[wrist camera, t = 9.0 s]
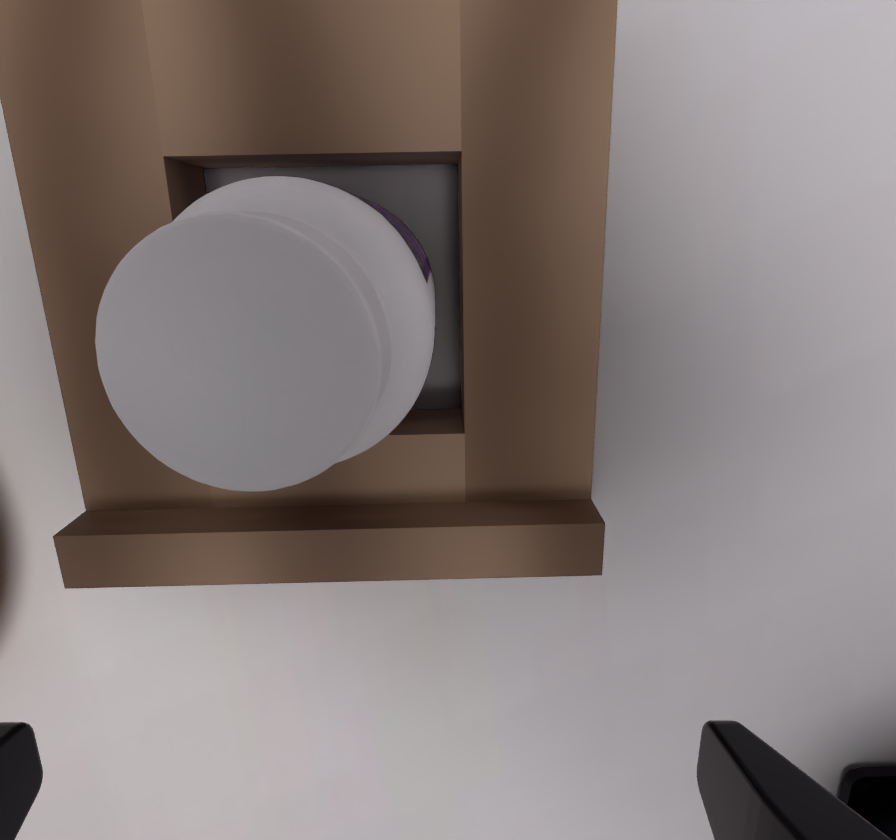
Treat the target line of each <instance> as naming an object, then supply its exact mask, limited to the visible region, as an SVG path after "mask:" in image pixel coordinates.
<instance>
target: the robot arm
mask: <svg viewBox="0 0 896 840" xmlns="http://www.w3.org/2000/svg"><path fill="white" fill-rule="evenodd" d="M42 778H43V769H42V764H41V760H40V756H39V752H38V747H37V743H36V739H35V734H34V731H33V728H32V727H31V726H30V725H29V724H27V723H24V722H1V723H0V840H15V838H16V836H17V834H18V832H19V830H20V828H21V826H22V824H23V822H24V820H25V818H26V816H27V814H28V812H29V810H30V808H31V806H32V804H33V802H34V800H35V798H36V796H37V794H38V792H39V790H40V787H41V783H42ZM697 781H698V786H699V790H700V794H701V797H702V800H703V803H704V807H705V810H706V813H707V816H708V820H709V823H710V826H711V829H712V832H713V836H714V839H715V840H896V767H863V768H855V769H852V770H850V771H849V772H848V773H847V774H846V775H845V777H844V781H843V786H842V790H841V795H840V800H839V799H838V798H837V797H835V796H834V795H833V794H832V793H830V792H829V791H828V790H826V789H825V788H824V787H822V786H821V785H820V784H819V783H817V782H816V781H815V780H813V779H812V778H811V777H809V776H808V775H807V774H806V773H804V772H803V771H802V770H800V769H799V768H798V767H796V766H795V765H794V764H793V763H791V762H790V761H789V760H787V759H786V758H785V757H783V756H782V755H781V754H780V753H778V752H777V751H776V750H774V749H773V748H772V747H770V746H769V745H768V744H767V743H765V742H764V741H763V740H761V739H760V738H759V737H757V736H756V735H755V734H754V733H752V732H751V731H750V730H748V729H747V728H746V727H744V726H743V725H742V724H740V723H738V722H736V721H708V722H706V723H705V724H704V726H703V729H702V734H701V742H700V749H699V757H698V764H697Z"/></svg>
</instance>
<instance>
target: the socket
mask: <svg viewBox="0 0 896 840" xmlns="http://www.w3.org/2000/svg"><path fill="white" fill-rule="evenodd" d="M617 1H618V0H0V99H1V104H2V108H3V113H4V118H5V123H6V128H7V133H8V137H9V142H10V147H11V152H12V157H13V161H14V166H15V171H16V176H17V181H18V186H19V190H20V195H21V200H22V205H23V210H24V214H25V219H26V224H27V229H28V234H29V239H30V243H31V248H32V253H33V258H34V263H35V267H36V272H37V277H38V282H39V287H40V292H41V296H42V301H43V306H44V311H45V316H46V320H47V325H48V330H49V335H50V340H51V345H52V349H53V354H54V359H55V364H56V369H57V374H58V378H59V383H60V388H61V393H62V398H63V402H64V407H65V412H66V417H67V422H68V427H69V431H70V436H71V441H72V446H73V451H74V455H75V460H76V465H77V470H78V475H79V480H80V484H81V489H82V494H83V499H84V504H85V508H86V511H85V512H84V513H83V514H81V515H80V516H79V517H77V518H76V519H75V520H74V521H72V522H71V523H70V524H68V525H67V526H66V527H65V528H63V529H62V530H61V531H59V532H58V533H57V534H55V535H54V536H53V538H54V543H55V547H56V552H57V556H58V560H59V565H60V569H61V574H62V578H63V582H64V587H65V588H105V587H145V586H186V585H227V584H267V583H308V582H349V581H389V580H430V579H470V578H511V577H552V576H592V575H602V565H603V549H604V533H605V522H604V521H603V519H602V517H601V515H600V514H599V512H598V510H597V509H596V507H595V505H594V503H593V502H592V500H591V488H592V469H593V451H594V432H595V413H596V394H597V376H598V357H599V338H600V319H601V301H602V282H603V263H604V244H605V226H606V207H607V188H608V169H609V151H610V132H611V113H612V94H613V76H614V57H615V38H616V19H617ZM404 164H458V190H459V268H460V347H461V409H420V410H410V411H409V412H408V413H407V415H406V416H405V417H404V419H403V420H402V421H401V422H400V423H399V424H398V426H397V427H396V428H394V429H393V430H392V431H391V432H390V433H389V434H388V435H387V436H386V437H385V438H383V439H382V440H381V441H379V442H378V443H377V444H375V445H374V446H372V447H371V448H369V449H368V450H366V451H364V452H362V453H360V454H358V455H356V456H353V457H351V458H349V459H346V460H344V461H341V462H338V463H335V464H333V465H332V466H331V467H329V468H328V469H326V470H325V471H323V472H322V473H320V474H319V475H317V476H315V477H313V478H310V479H308V480H306V481H304V482H301V483H299V484H296V485H292V486H288V487H284V488H280V489H276V490H269V491H235V490H227V489H222V488H218V487H214V486H211V485H207V484H204V483H200V482H198V481H195V480H193V479H190V478H188V477H186V476H184V475H182V474H180V473H178V472H176V471H175V470H173V469H171V468H169V467H168V466H166V465H165V464H164V463H162V462H161V461H159V460H158V459H156V458H155V457H154V456H153V455H152V454H151V453H150V452H148V451H147V450H146V449H145V448H144V447H143V446H142V445H141V444H140V443H139V442H138V441H137V440H136V439H135V438H134V437H133V435H132V434H131V433H130V432H129V431H128V429H127V428H126V427H125V425H124V424H123V423H122V421H121V420H120V418H119V417H118V415H117V414H116V412H115V410H114V409H113V407H112V405H111V403H110V400H109V398H108V396H107V393H106V391H105V388H104V385H103V382H102V379H101V376H100V373H99V369H98V362H97V354H96V345H95V336H96V318H97V313H98V308H99V304H100V301H101V298H102V295H103V292H104V289H105V287H106V285H107V283H108V281H109V279H110V277H111V276H112V274H113V272H114V271H115V269H116V267H117V266H118V264H119V263H120V262H121V260H122V259H123V258H124V257H125V255H126V254H127V253H128V252H129V251H130V250H131V249H132V248H133V247H134V246H135V245H137V244H138V243H139V242H140V241H141V240H143V239H144V238H145V237H146V236H148V235H149V234H151V233H153V232H154V231H156V230H157V229H159V228H160V227H162V226H165V225H167V224H169V223H172V222H173V221H174V219H175V218H176V217H177V216H178V215H179V214H181V213H182V212H183V211H184V210H185V209H186V208H187V207H188V206H190V205H191V204H192V203H194V202H195V201H196V200H198V199H199V198H201V197H203V196H204V195H206V190H205V182H204V174H203V168H239V167H294V166H349V165H404Z"/></svg>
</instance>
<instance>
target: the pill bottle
mask: <svg viewBox="0 0 896 840" xmlns="http://www.w3.org/2000/svg"><path fill="white" fill-rule="evenodd" d="M435 313H436V299H435V284H434V279H433V274H432V271H431V268H430V264H429V261H428V259H427V256H426V254H425V252H424V250H423V248H422V246H421V245H420V243H419V242H418V240H417V239H416V237H415V236H414V235H413V234H412V232H411V231H410V230H409V229H408V228H407V227H406V226H405V225H404V224H403V223H402V222H401V221H400V220H399V219H398V218H397V217H395V216H394V215H392V214H391V213H390V212H388V211H387V210H385V209H383V208H382V207H380V206H378V205H376V204H374V203H372V202H370V201H367V200H365V199H362V198H360V197H358V196H356V195H353V194H351V193H349V192H347V191H345V190H343V189H340V188H337V187H334V186H331V185H328V184H325V183H323V182H318V181H314V180H309V179H306V178H298V177H287V176H265V177H257V178H251V179H245V180H241V181H237V182H234V183H231V184H228V185H225V186H223V187H220V188H218V189H216V190H214V191H212V192H210V193H208V194H206V195H204V196H203V197H201V198H199V199H198V200H196V201H195V202H194V203H192V204H191V205H190V206H188V207H187V208H186V209H185V210H184V211H183V212H182V213H181V214H179V215H178V216H177V217H176V218H175V219H174V221H173V222H172V223H169V224H167V225H165V226H162V227H160V228H159V229H157V230H156V231H154V232H153V233H151V234H149V235H148V236H146V237H145V238H144V239H143V240H141V241H140V242H139V243H138V244H137V245H135V246H134V247H133V248H132V249H131V250H130V251H129V252H128V253H127V254H126V255H125V257H124V258H123V259H122V260H121V262H120V263H119V264H118V266H117V267H116V269H115V271H114V272H113V274H112V276H111V277H110V279H109V281H108V283H107V285H106V287H105V289H104V292H103V295H102V298H101V301H100V304H99V308H98V313H97V318H96V336H95V345H96V354H97V362H98V369H99V373H100V376H101V379H102V382H103V385H104V388H105V391H106V393H107V396H108V398H109V400H110V403H111V405H112V407H113V409H114V410H115V412H116V414H117V415H118V417H119V418H120V420H121V421H122V423H123V424H124V425H125V427H126V428H127V429H128V431H129V432H130V433H131V434H132V435H133V437H134V438H135V439H136V440H137V441H138V442H139V443H140V444H141V445H142V446H143V447H144V448H145V449H146V450H147V451H148V452H150V453H151V454H152V455H153V456H154V457H155V458H156V459H158V460H159V461H161V462H162V463H164V464H165V465H166V466H168V467H169V468H171V469H173V470H175V471H176V472H178V473H180V474H182V475H184V476H186V477H188V478H190V479H193V480H195V481H198V482H200V483H204V484H207V485H211V486H214V487H218V488H222V489H227V490H235V491H269V490H276V489H280V488H284V487H288V486H292V485H296V484H299V483H301V482H304V481H306V480H308V479H310V478H313V477H315V476H317V475H319V474H320V473H322V472H323V471H325V470H326V469H328V468H329V467H331V466H332V465H333V464H335V463H338V462H341V461H344V460H346V459H349V458H351V457H353V456H356V455H358V454H360V453H362V452H364V451H366V450H368V449H369V448H371V447H372V446H374V445H375V444H377V443H378V442H379V441H381V440H382V439H383V438H385V437H386V436H387V435H388V434H389V433H390V432H391V431H392V430H393V429H394V428H396V427H397V426H398V424H399V423H400V422H401V421H402V420H403V419H404V417H405V416H406V415H407V413H408V412H409V411H410V409H411V408H412V406H413V405H414V403H415V401H416V400H417V398H418V396H419V394H420V392H421V390H422V388H423V385H424V382H425V380H426V377H427V374H428V371H429V367H430V363H431V359H432V356H433V350H434V343H435V329H436V326H435Z"/></svg>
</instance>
